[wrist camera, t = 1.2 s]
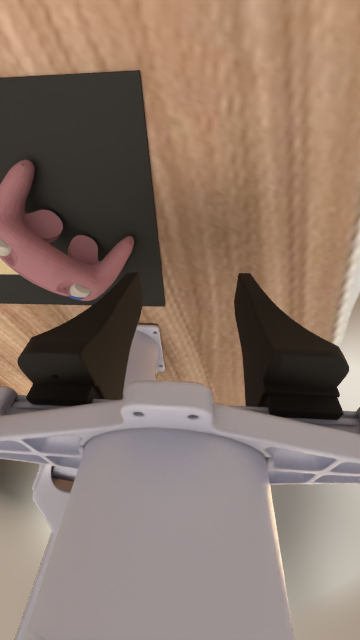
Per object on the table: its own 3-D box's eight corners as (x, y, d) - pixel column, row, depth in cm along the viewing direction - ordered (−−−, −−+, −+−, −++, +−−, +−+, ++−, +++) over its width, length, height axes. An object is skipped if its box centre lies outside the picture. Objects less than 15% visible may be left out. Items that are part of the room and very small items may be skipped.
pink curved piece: (20, 186, 20) (-37, 250, 18) (20, 145, 16) (-52, 221, 14) (124, 257, 24) (89, 318, 22) (143, 238, 21) (104, 309, 18)
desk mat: (165, 304, 27) (165, 306, 27) (-55, 300, 29) (-57, 302, 29) (140, 70, 14) (139, 70, 14) (-253, 91, 16) (-259, 92, 16)
